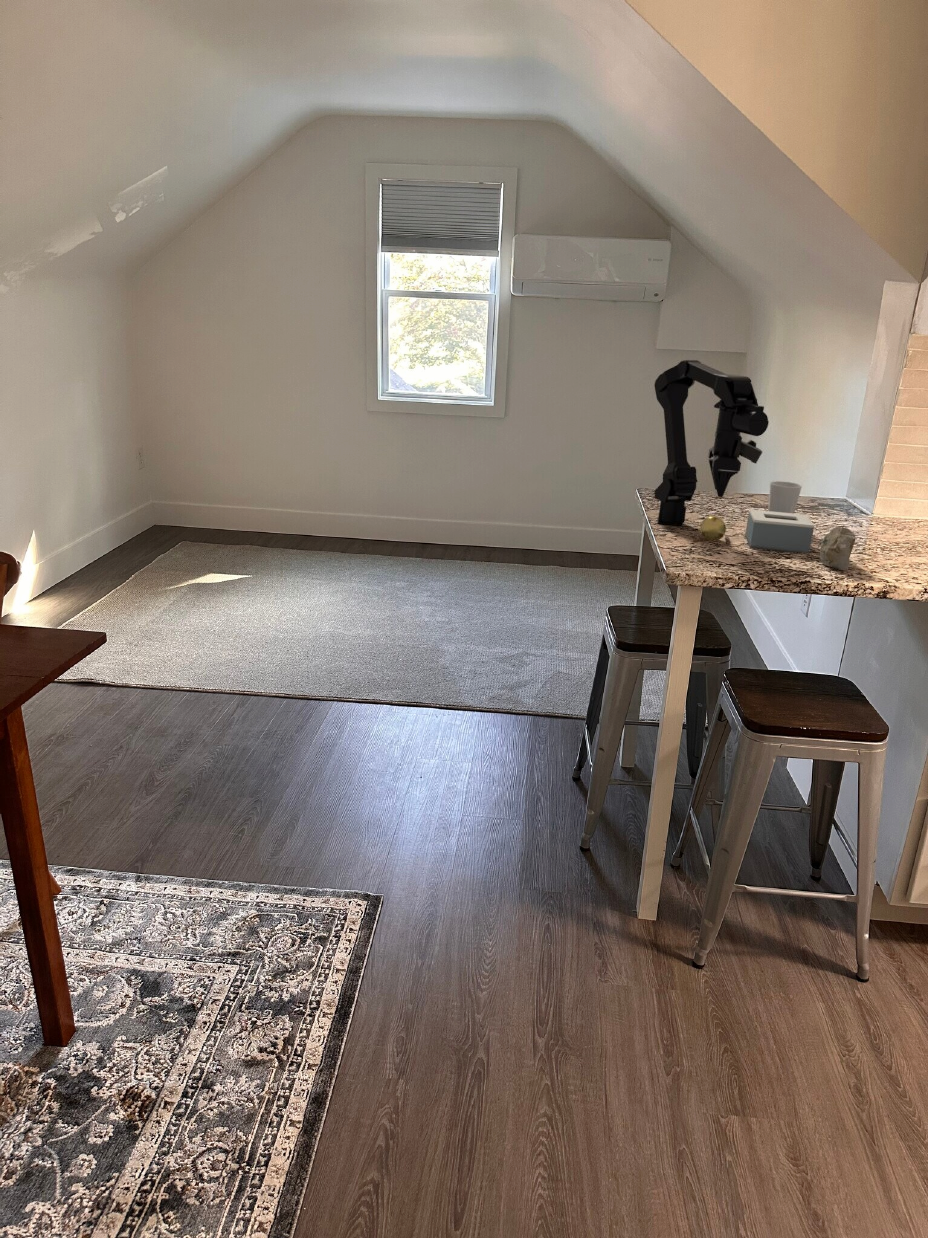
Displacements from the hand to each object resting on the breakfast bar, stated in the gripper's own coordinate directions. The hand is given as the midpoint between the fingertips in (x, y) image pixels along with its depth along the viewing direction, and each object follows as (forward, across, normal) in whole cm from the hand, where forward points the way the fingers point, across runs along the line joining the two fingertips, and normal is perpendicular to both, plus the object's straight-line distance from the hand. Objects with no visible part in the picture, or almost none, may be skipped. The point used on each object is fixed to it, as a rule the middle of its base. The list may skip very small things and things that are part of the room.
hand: (718, 493), depth 225 cm
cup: (+12, +21, -19) cm, 31 cm away
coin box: (+12, +2, -16) cm, 20 cm away
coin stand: (+12, 0, 0) cm, 12 cm away
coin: (+12, 0, 0) cm, 12 cm away
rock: (+12, -13, -27) cm, 32 cm away
